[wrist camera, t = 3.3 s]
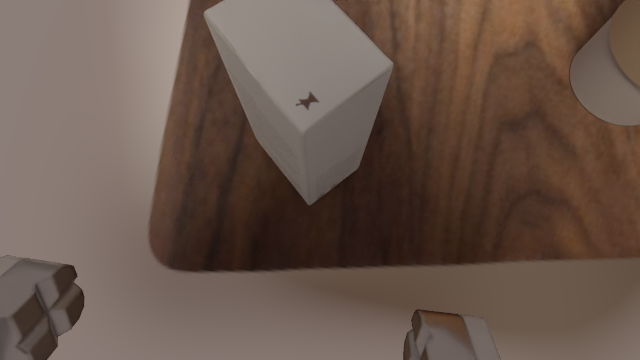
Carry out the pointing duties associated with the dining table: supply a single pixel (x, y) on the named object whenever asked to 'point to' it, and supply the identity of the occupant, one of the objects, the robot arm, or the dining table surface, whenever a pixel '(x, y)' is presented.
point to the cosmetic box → (303, 84)
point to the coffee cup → (611, 68)
